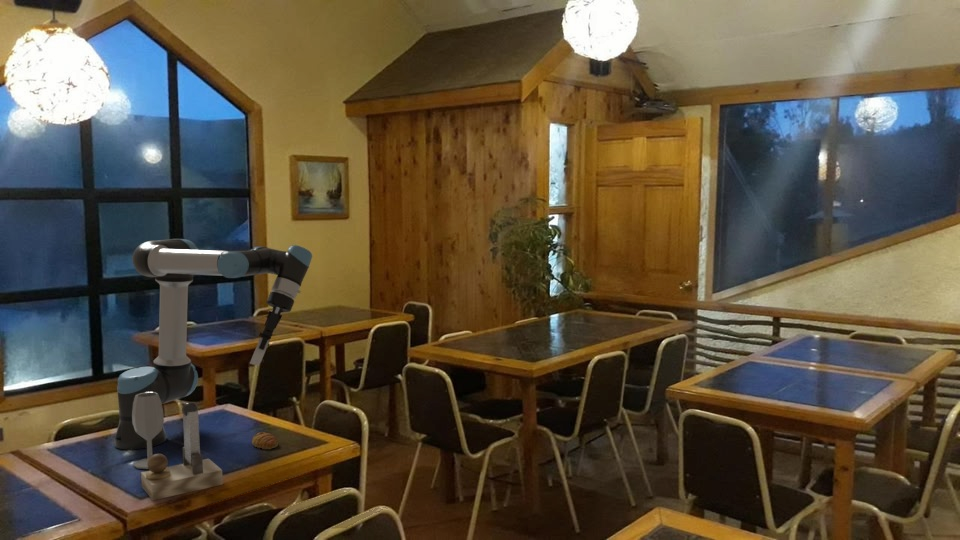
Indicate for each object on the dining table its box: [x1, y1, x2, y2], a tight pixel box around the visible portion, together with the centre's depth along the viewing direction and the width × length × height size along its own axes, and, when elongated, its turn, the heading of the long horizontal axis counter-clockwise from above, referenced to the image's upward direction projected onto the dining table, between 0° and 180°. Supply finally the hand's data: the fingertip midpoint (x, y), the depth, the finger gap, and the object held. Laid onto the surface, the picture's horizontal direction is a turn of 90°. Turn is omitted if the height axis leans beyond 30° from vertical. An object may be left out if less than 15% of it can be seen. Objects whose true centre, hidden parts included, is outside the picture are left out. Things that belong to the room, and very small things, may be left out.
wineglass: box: [132, 392, 165, 470], centre depth 224 cm, size 9×9×21 cm
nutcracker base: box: [140, 446, 224, 501], centre depth 207 cm, size 18×12×10 cm, turn 126°
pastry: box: [251, 431, 279, 450], centre depth 241 cm, size 9×7×4 cm
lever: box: [181, 401, 201, 466], centre depth 208 cm, size 4×7×18 cm, turn 36°
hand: (255, 362), depth 222 cm, fingers open, 13 cm apart
